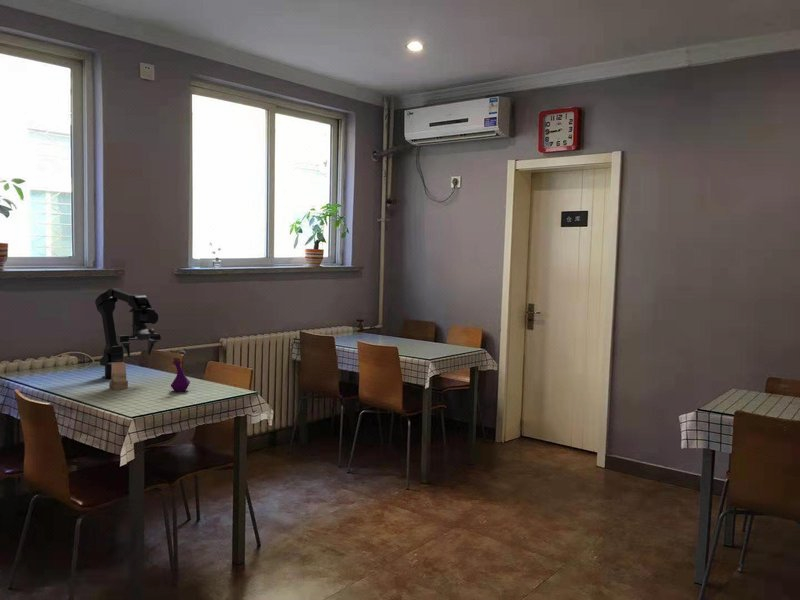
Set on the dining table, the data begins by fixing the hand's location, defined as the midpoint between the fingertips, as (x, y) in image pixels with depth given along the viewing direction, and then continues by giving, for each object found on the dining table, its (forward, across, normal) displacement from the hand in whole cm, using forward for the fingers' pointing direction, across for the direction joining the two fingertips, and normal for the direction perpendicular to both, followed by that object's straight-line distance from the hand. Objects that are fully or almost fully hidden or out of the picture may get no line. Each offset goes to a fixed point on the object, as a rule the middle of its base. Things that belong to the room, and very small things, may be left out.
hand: (139, 356), depth 312 cm
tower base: (+13, -12, -7) cm, 19 cm away
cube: (+6, -12, -7) cm, 15 cm away
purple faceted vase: (+13, +8, -28) cm, 32 cm away
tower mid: (+9, -12, -7) cm, 16 cm away
